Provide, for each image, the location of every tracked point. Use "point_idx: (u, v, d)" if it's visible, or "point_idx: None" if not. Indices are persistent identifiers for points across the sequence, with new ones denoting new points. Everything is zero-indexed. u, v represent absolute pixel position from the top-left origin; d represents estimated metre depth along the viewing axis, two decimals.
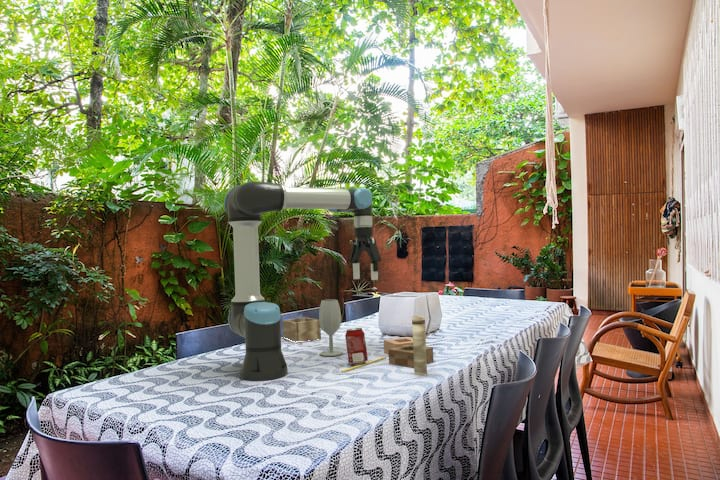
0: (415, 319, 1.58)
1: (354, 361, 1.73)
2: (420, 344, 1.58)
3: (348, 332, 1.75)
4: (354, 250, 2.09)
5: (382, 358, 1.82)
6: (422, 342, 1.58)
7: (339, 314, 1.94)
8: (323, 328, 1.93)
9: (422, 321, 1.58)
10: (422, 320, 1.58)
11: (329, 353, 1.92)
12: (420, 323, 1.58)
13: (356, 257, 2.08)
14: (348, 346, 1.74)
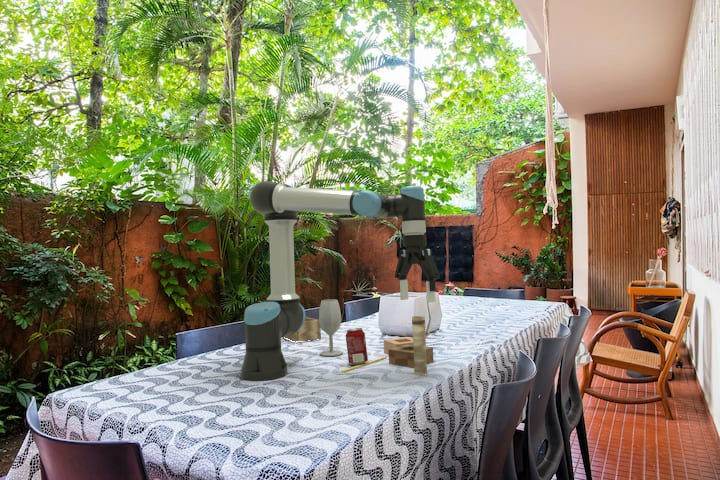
0: (415, 319, 1.58)
1: (354, 361, 1.73)
2: (420, 344, 1.58)
3: (348, 332, 1.75)
4: (401, 263, 1.66)
5: (382, 358, 1.82)
6: (422, 342, 1.58)
7: (339, 314, 1.94)
8: (323, 328, 1.93)
9: (422, 321, 1.58)
10: (422, 320, 1.58)
11: (329, 353, 1.92)
12: (420, 323, 1.58)
13: (404, 272, 1.65)
14: (348, 346, 1.74)
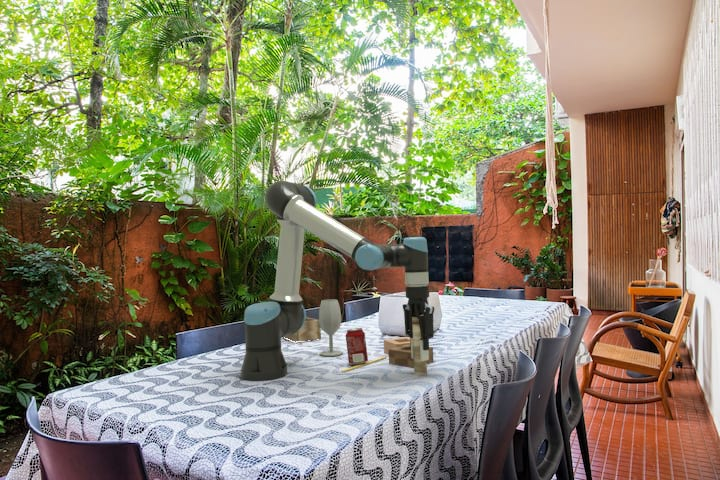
0: (415, 319, 1.58)
1: (354, 361, 1.73)
2: None
3: (348, 332, 1.75)
4: (408, 317, 1.64)
5: (382, 358, 1.82)
6: None
7: (339, 314, 1.94)
8: (323, 328, 1.93)
9: None
10: None
11: (329, 353, 1.92)
12: None
13: None
14: (348, 346, 1.74)
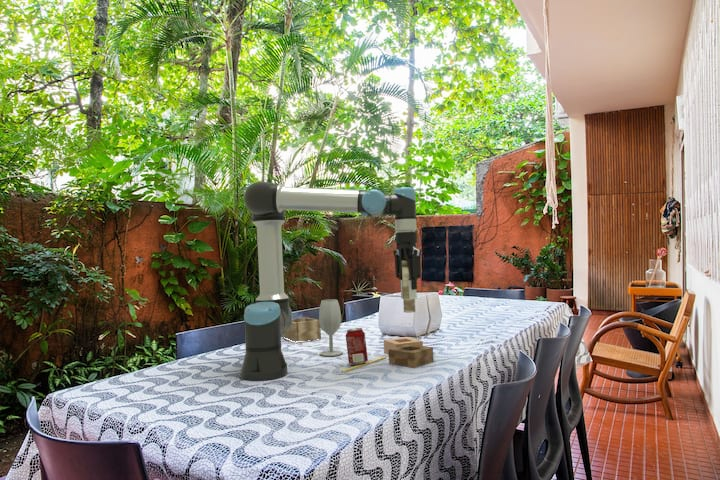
0: (404, 262, 1.74)
1: (354, 361, 1.73)
2: None
3: (348, 332, 1.75)
4: (398, 262, 1.80)
5: (382, 358, 1.82)
6: None
7: (339, 314, 1.94)
8: (323, 328, 1.93)
9: None
10: None
11: (329, 353, 1.92)
12: None
13: None
14: (348, 346, 1.74)
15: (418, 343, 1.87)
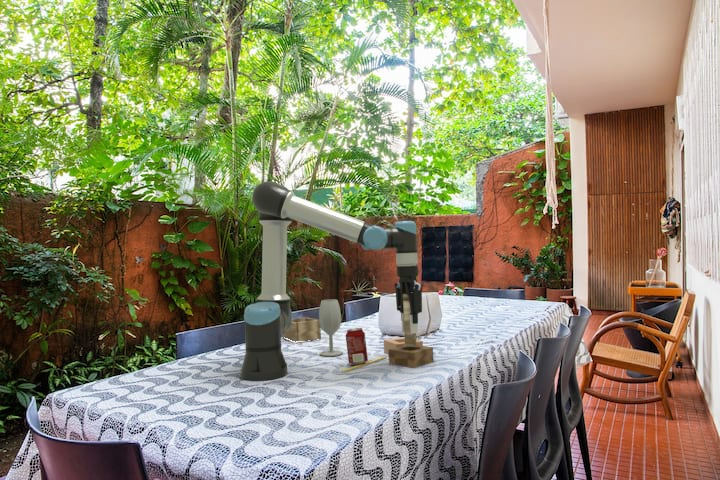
0: (405, 296, 1.74)
1: (354, 361, 1.73)
2: None
3: (348, 332, 1.75)
4: (399, 295, 1.79)
5: (382, 358, 1.82)
6: None
7: (339, 314, 1.94)
8: (323, 328, 1.93)
9: None
10: None
11: (329, 353, 1.92)
12: None
13: None
14: (348, 346, 1.74)
15: (418, 343, 1.87)
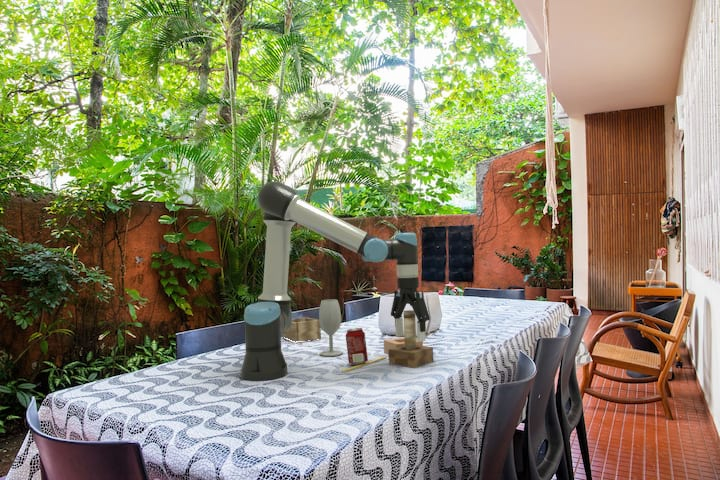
0: (406, 313, 1.74)
1: (354, 361, 1.73)
2: (411, 335, 1.74)
3: (348, 332, 1.75)
4: (396, 303, 1.81)
5: (382, 358, 1.82)
6: (412, 334, 1.74)
7: (339, 314, 1.94)
8: (323, 328, 1.93)
9: (413, 315, 1.74)
10: (412, 314, 1.74)
11: (329, 353, 1.92)
12: (411, 316, 1.74)
13: (399, 311, 1.80)
14: (348, 346, 1.74)
15: (418, 343, 1.87)
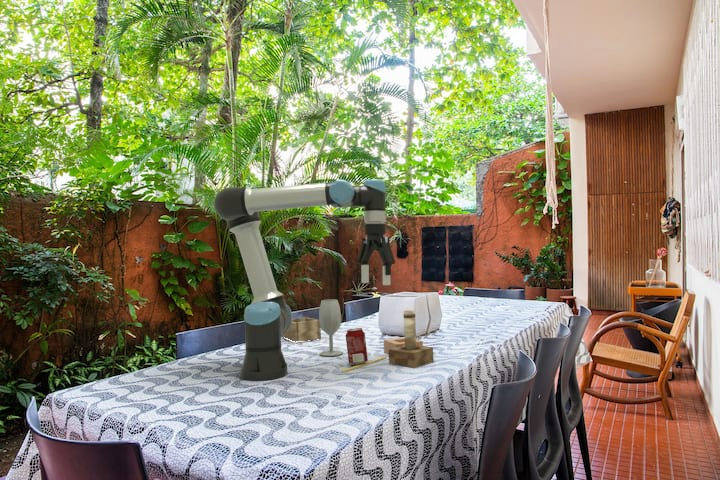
0: (406, 313, 1.74)
1: (354, 361, 1.73)
2: (411, 335, 1.74)
3: (348, 332, 1.75)
4: (363, 250, 1.82)
5: (382, 358, 1.82)
6: (412, 334, 1.74)
7: (339, 314, 1.94)
8: (323, 328, 1.93)
9: (413, 315, 1.74)
10: (412, 314, 1.74)
11: (329, 353, 1.92)
12: (411, 317, 1.74)
13: (365, 258, 1.81)
14: (348, 346, 1.74)
15: (418, 343, 1.87)
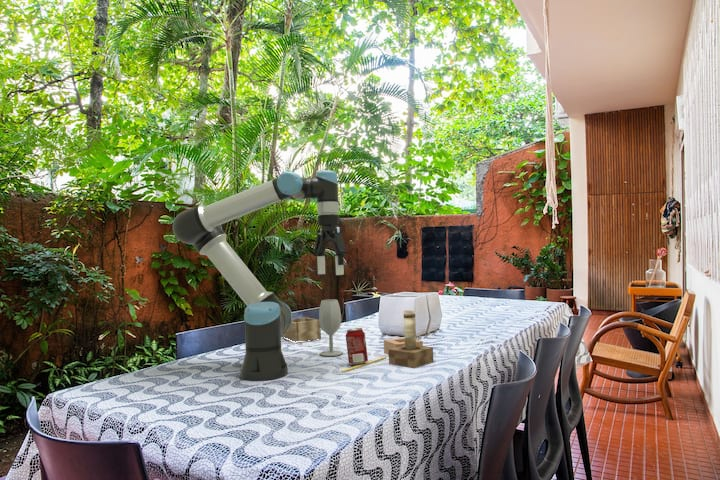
0: (406, 313, 1.74)
1: (354, 361, 1.73)
2: (411, 335, 1.74)
3: (348, 332, 1.75)
4: (319, 241, 1.84)
5: (382, 358, 1.82)
6: (412, 334, 1.74)
7: (339, 314, 1.94)
8: (323, 328, 1.93)
9: (413, 315, 1.74)
10: (412, 314, 1.74)
11: (329, 353, 1.92)
12: (411, 317, 1.74)
13: (321, 249, 1.83)
14: (348, 346, 1.74)
15: (418, 343, 1.87)
